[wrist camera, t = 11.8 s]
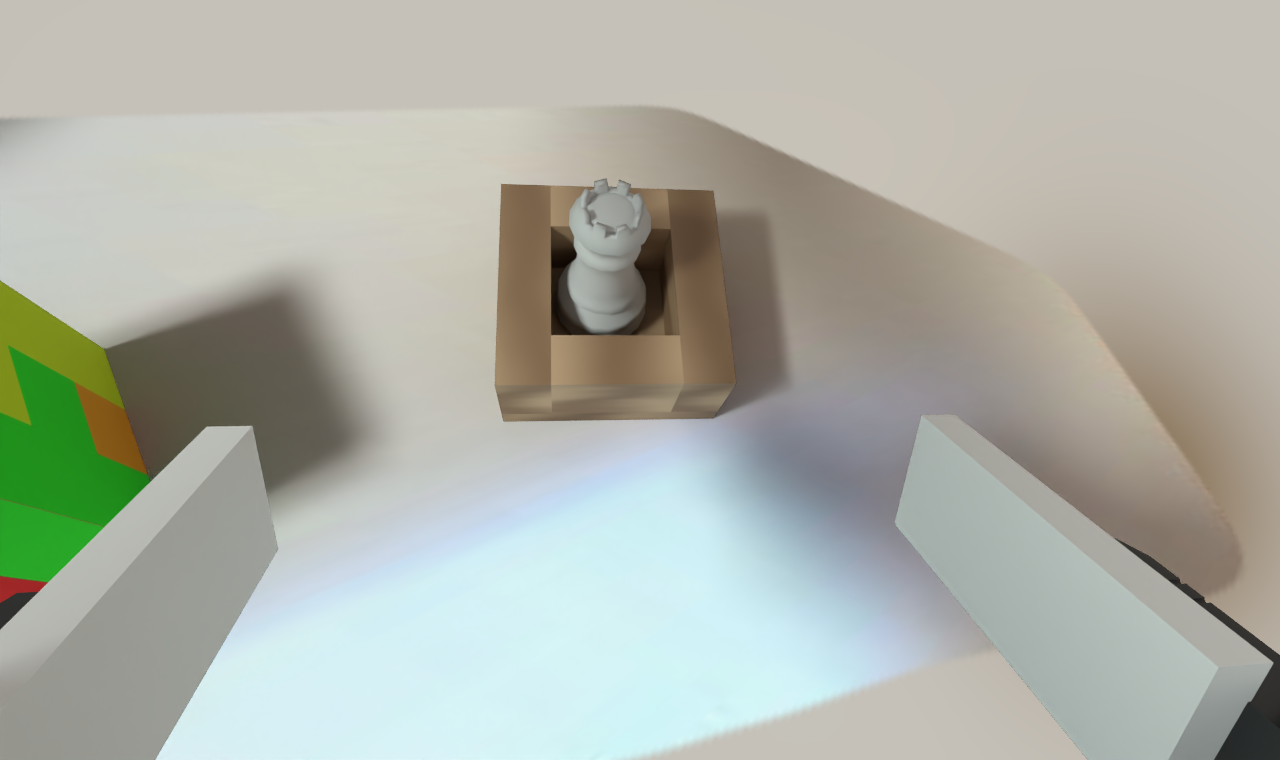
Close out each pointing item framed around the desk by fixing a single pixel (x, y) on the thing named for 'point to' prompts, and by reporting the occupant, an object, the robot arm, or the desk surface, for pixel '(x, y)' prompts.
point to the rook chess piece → (604, 263)
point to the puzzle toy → (56, 445)
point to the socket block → (612, 364)
